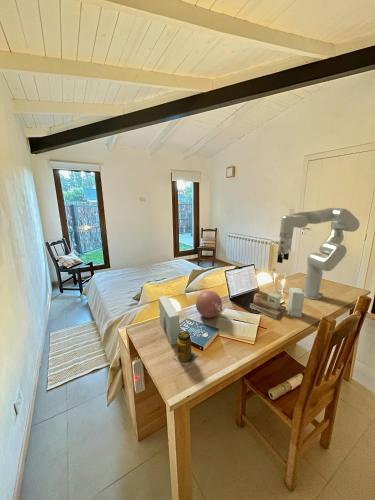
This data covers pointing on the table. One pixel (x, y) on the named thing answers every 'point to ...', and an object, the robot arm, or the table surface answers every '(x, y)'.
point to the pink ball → (209, 304)
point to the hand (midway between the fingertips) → (282, 261)
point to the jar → (257, 299)
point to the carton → (273, 301)
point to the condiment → (184, 349)
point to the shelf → (268, 309)
